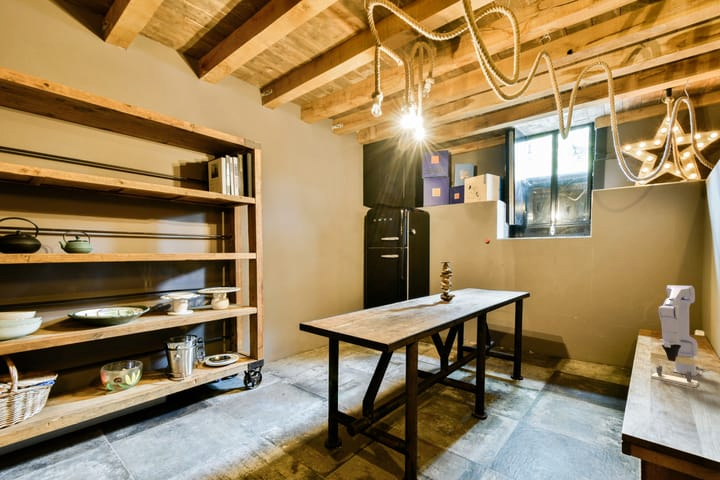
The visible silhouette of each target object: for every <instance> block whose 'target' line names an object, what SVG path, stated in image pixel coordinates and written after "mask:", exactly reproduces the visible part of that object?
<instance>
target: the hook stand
mask: <svg viewBox="0 0 720 480" xmlns="http://www.w3.org/2000/svg"><path fill="white" fill-rule="evenodd" d="M655 369H656V372H654V373H652V374H651V375H650V378H651V379H654V380H659V381H665V382H668V383H673V384H677V385H681V386H687V387H692V388H696V387H698V385H699V380H694V379H692V377H693V376H692V375H691V372H690V371H687V373H685V374H684V375H685V378H684V377H679V376H674V375H669V374H664V373H662V372H663V366H662V365H658V366H656V368H655Z"/></svg>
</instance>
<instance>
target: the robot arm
mask: <svg viewBox="0 0 720 480" xmlns="http://www.w3.org/2000/svg"><path fill="white" fill-rule="evenodd" d="M666 295H667V298H665V300H664V301H663V304H662V305H660V306H658V309H657V313H658V316H659V321H660V323H661V324H660V325H661V335H662V338H660V339H659V342H662V343H663V344H661V347H662V349H663V351H664V352H665V354H666V355H667V358H668V360H669V362H674V369H673V370H672V372H673V373H679V374H681V375H682V374H683V375H686V374H685V373H687V371H690V372H691V376H692V377H695V376H697V375H698V374H699V373H700V371H698V370H696V369H697V368H696V365H691V364H685V363H679V362H675V359H676V356H681V357H687V358H693V359H695V357H696V356H698V354H699V345H698V342H697V340H696V339H695V338H694V337H692V336H690V306H691V304H694V303H695V301H696V292H695V288H694V286H693V285H676V284H675V285H673V284H672V285H671V284H668V285H667V286H666ZM683 341H686V342H683ZM668 360H667V361H668Z"/></svg>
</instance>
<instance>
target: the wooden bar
mask: <svg viewBox="0 0 720 480" xmlns="http://www.w3.org/2000/svg"><path fill="white" fill-rule="evenodd" d="M650 358H653V359H655V360H656V359H657V360H663V361H669V360H668V358H667V355H666V353H661V352H655V351H651V352H650ZM669 362H670V361H669ZM675 362H679V363H685V364H691V365H695V366H696V363H697V361H696V358H694V359H693V358H687V357H681V356H676V359H675ZM675 362H674V363H675Z"/></svg>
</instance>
